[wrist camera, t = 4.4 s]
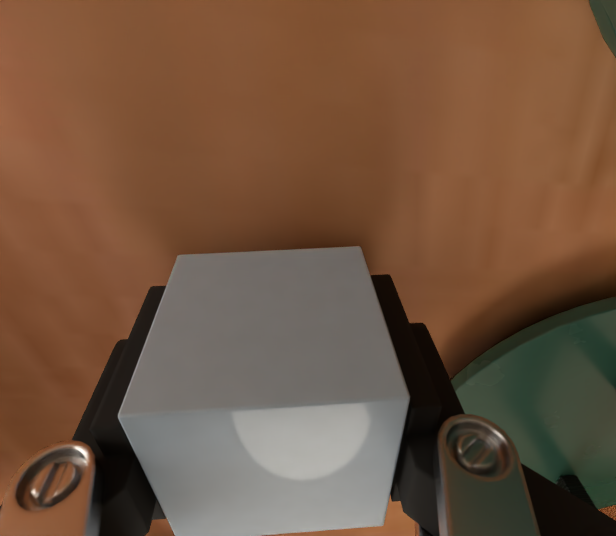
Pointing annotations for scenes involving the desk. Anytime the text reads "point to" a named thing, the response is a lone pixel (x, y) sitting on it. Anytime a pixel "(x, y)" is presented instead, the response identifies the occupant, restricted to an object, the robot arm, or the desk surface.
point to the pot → (606, 20)
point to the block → (268, 395)
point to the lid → (555, 398)
